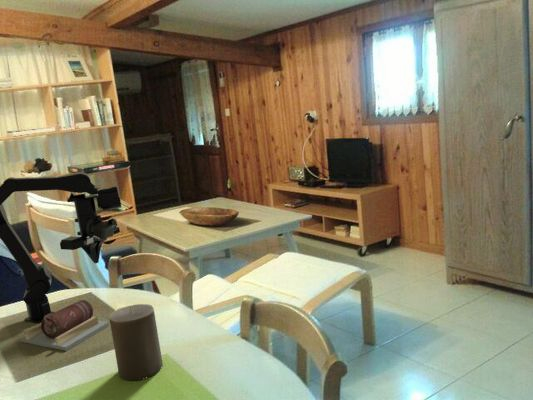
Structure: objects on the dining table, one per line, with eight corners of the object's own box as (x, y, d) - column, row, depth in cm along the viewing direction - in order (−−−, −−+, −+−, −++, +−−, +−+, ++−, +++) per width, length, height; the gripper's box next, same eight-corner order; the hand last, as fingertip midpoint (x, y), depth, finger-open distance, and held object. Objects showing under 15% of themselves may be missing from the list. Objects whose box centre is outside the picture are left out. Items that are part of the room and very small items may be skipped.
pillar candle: (140, 384, 105) (129, 318, 103) (109, 375, 111) (98, 312, 108) (172, 362, 113) (162, 300, 111) (141, 355, 119) (131, 295, 116)
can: (85, 294, 143) (48, 311, 130) (97, 312, 142) (61, 331, 129) (72, 305, 145) (35, 323, 132) (85, 323, 144) (48, 343, 131)
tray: (21, 341, 134) (18, 331, 134) (64, 318, 147) (62, 309, 146) (66, 350, 126) (64, 339, 125) (109, 325, 138) (107, 315, 137)
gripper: (80, 222, 138) (91, 275, 141) (128, 206, 154) (136, 254, 157) (54, 221, 144) (64, 273, 147) (102, 206, 160) (111, 253, 163)
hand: (96, 263), depth 153 cm, fingers closed
